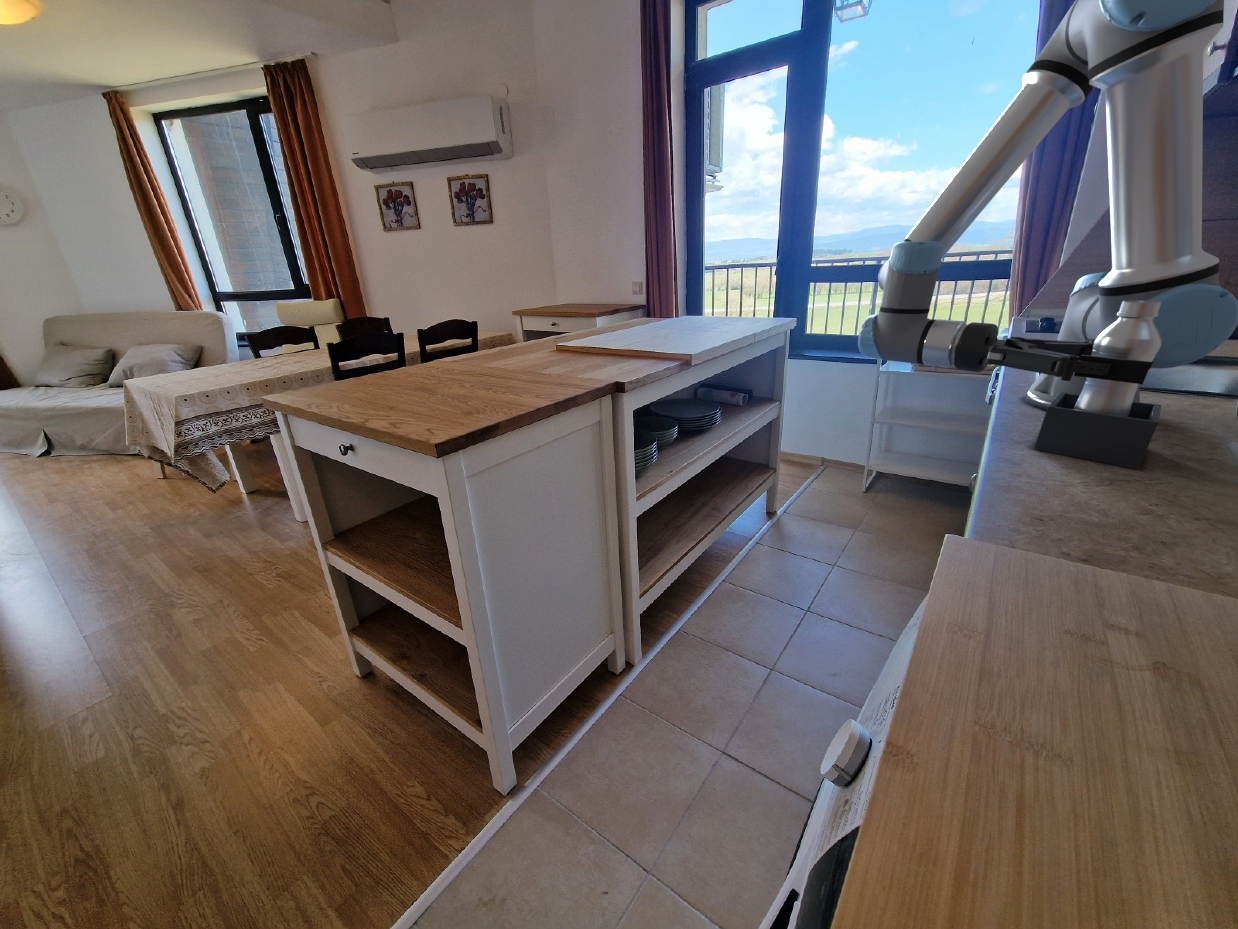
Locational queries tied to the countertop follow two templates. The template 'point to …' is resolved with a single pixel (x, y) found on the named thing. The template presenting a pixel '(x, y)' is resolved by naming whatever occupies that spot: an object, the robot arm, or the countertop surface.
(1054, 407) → the bin
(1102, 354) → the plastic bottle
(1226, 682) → the countertop surface
